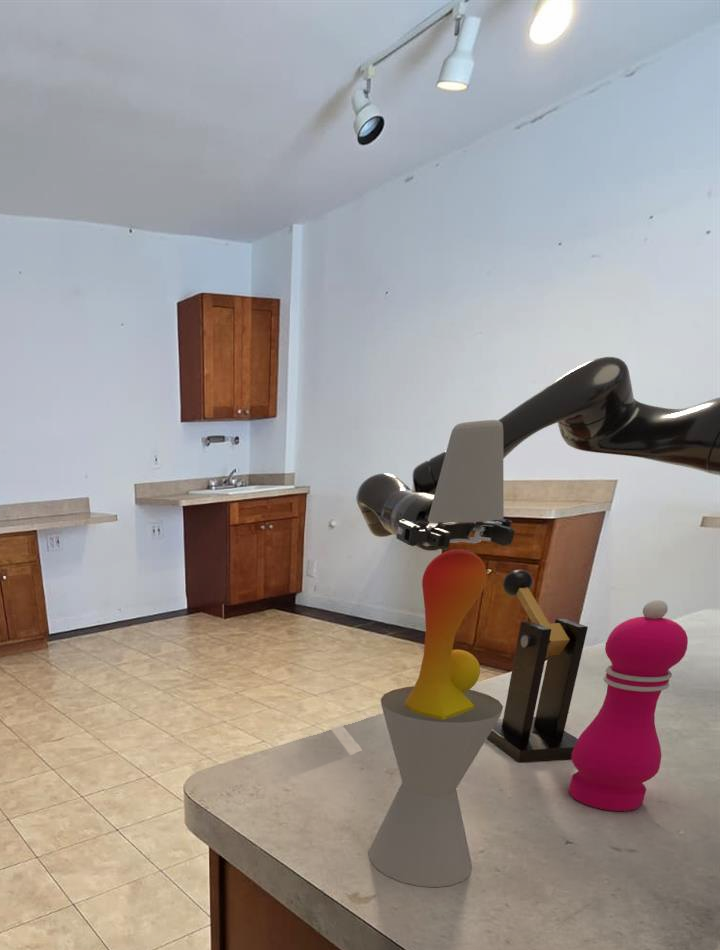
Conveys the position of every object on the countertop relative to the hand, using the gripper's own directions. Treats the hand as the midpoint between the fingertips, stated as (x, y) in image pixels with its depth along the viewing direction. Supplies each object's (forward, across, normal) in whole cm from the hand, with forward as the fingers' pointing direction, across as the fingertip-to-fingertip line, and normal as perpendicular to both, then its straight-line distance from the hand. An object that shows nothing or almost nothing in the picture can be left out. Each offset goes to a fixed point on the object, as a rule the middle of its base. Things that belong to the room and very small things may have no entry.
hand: (478, 539), depth 85 cm
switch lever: (+13, +1, +7) cm, 15 cm away
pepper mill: (+33, 0, +20) cm, 39 cm away
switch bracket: (+19, +1, +21) cm, 28 cm away
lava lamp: (+41, -23, +19) cm, 51 cm away
